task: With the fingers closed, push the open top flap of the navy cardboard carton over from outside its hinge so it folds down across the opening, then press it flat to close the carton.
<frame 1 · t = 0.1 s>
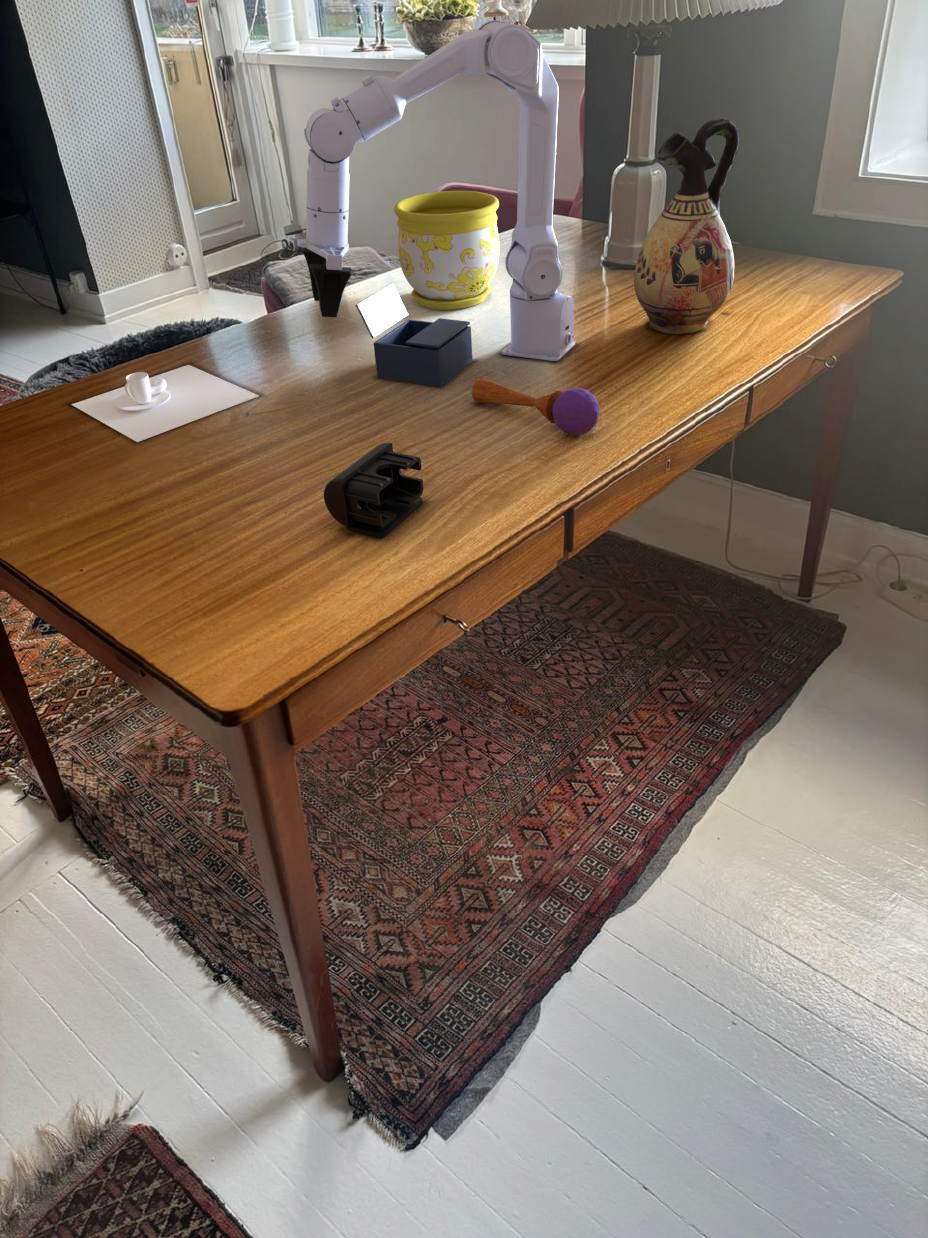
hand: (325, 308, 136), 11 cm above the table, tool pointing down, fingers open, 7 cm apart
flap: (382, 309, 141), point 8 cm above the table, hinge at 115.0°
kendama: (534, 420, 127), on the table
ceramic jug: (684, 325, 153), on the table
end cap: (378, 515, 108), on the table
carton: (425, 369, 143), on the table
flowerpot: (451, 299, 170), on the table
teacup and saucer: (165, 401, 139), on the table
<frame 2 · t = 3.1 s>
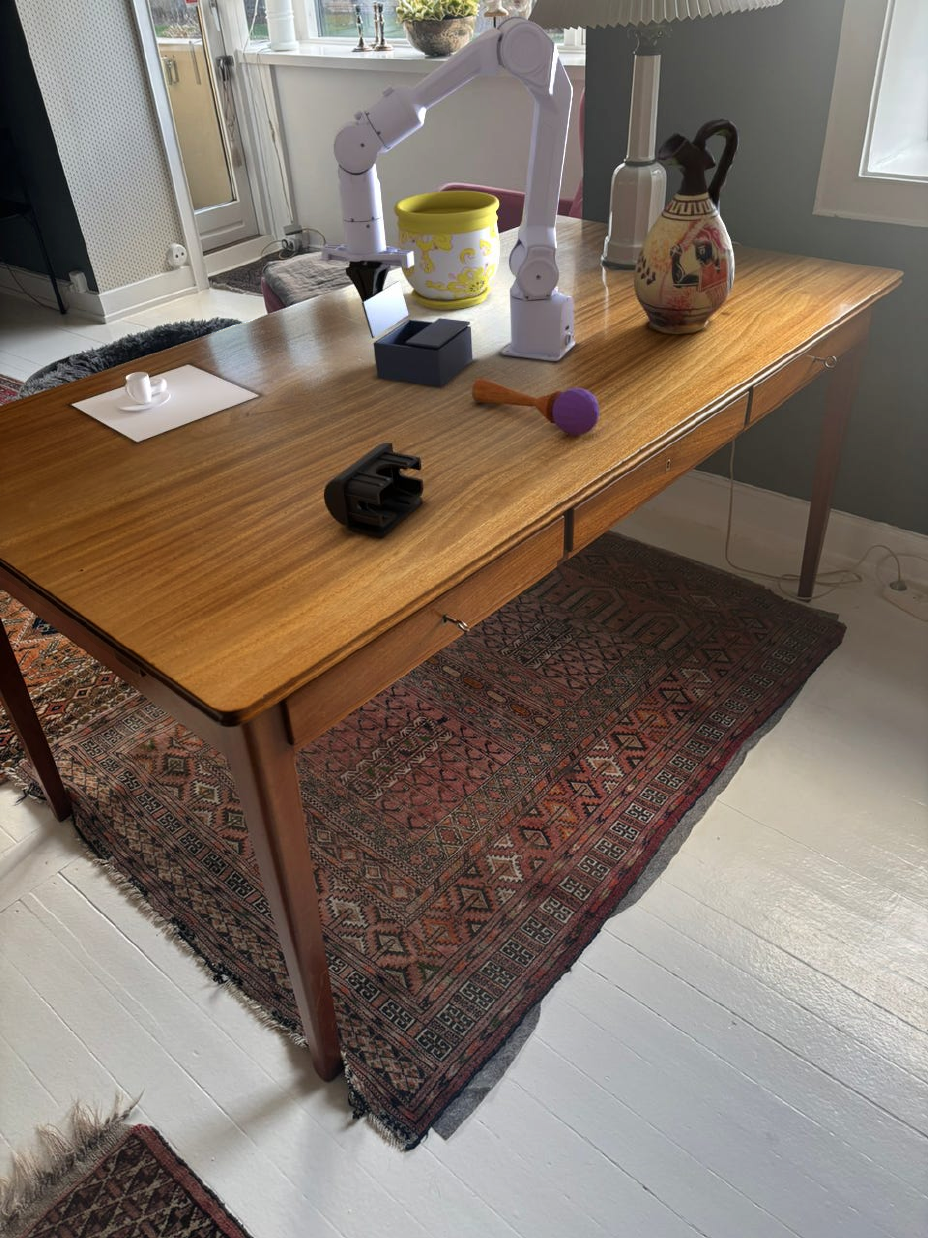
hand: (373, 312, 142), 8 cm above the table, tool pointing down, fingers closed
flap: (385, 309, 140), point 9 cm above the table, hinge at 102.2°, touching gripper
everything else where it was.
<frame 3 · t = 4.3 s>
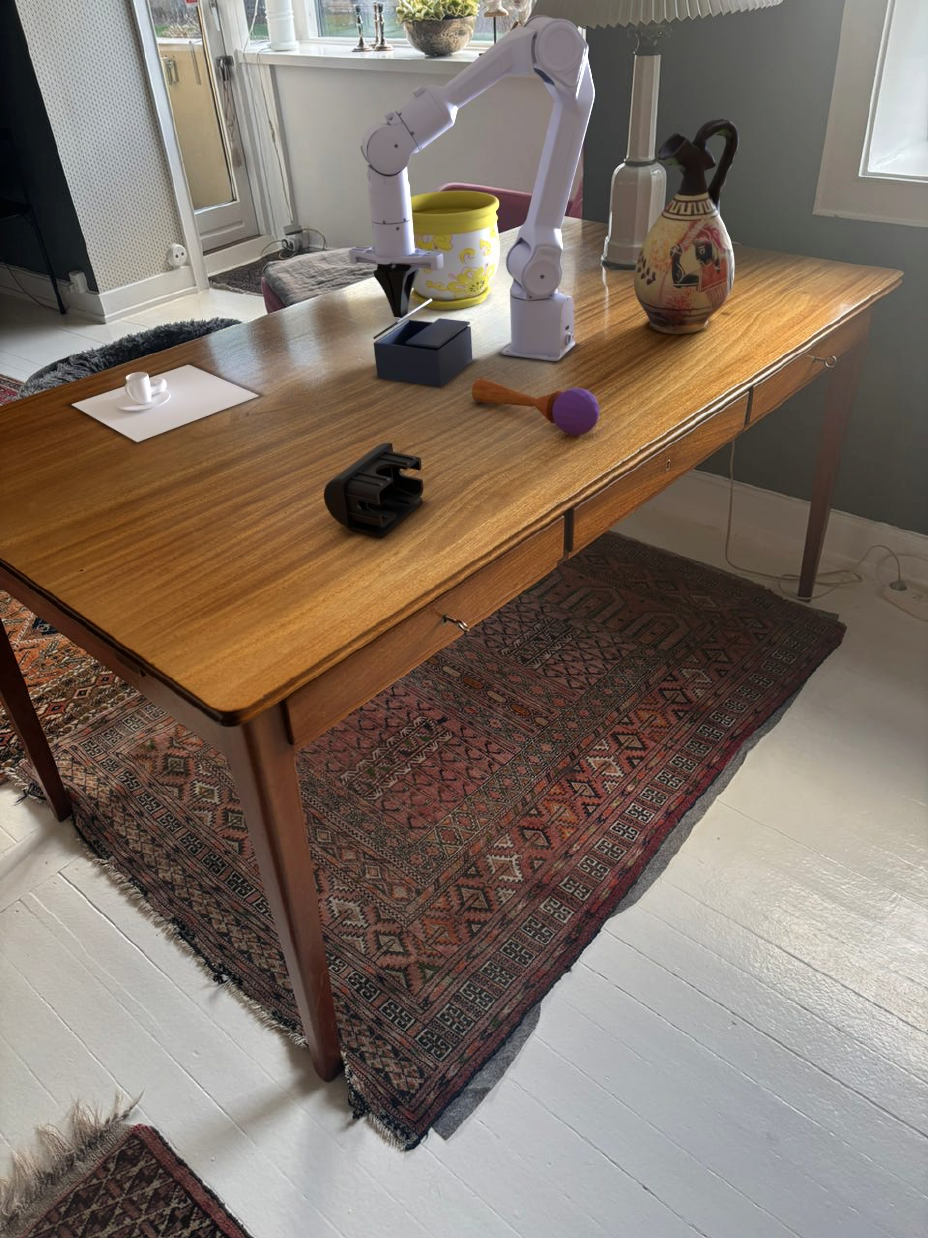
hand: (400, 315, 140), 8 cm above the table, tool pointing down, fingers closed
flap: (403, 318, 140), point 7 cm above the table, hinge at 33.5°
everything else where it was.
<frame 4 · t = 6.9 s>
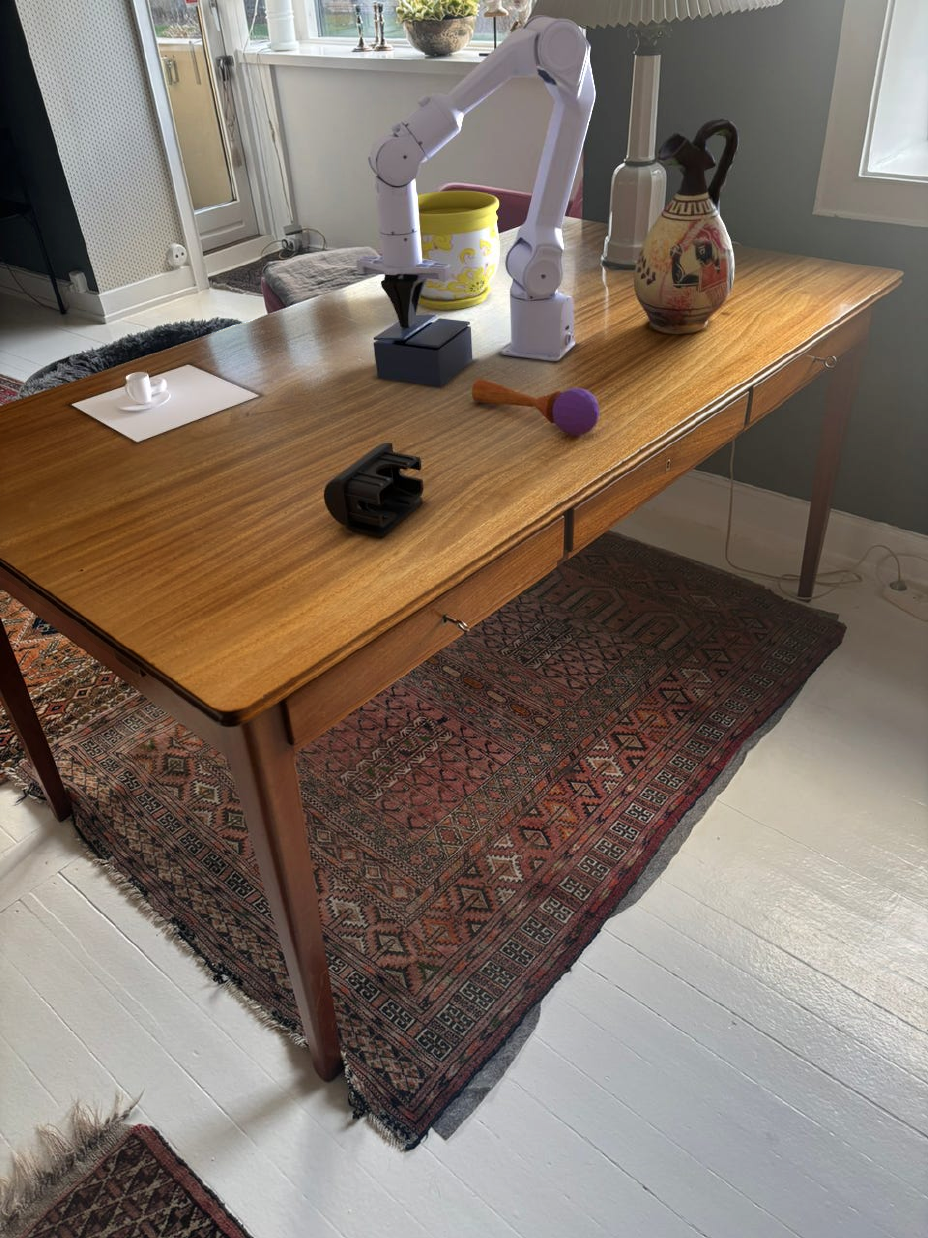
hand: (407, 325, 140), 7 cm above the table, tool pointing down, fingers closed, pressing on flap
flap: (406, 326, 140), point 6 cm above the table, hinge at 6.0°, touching gripper
everything else where it was.
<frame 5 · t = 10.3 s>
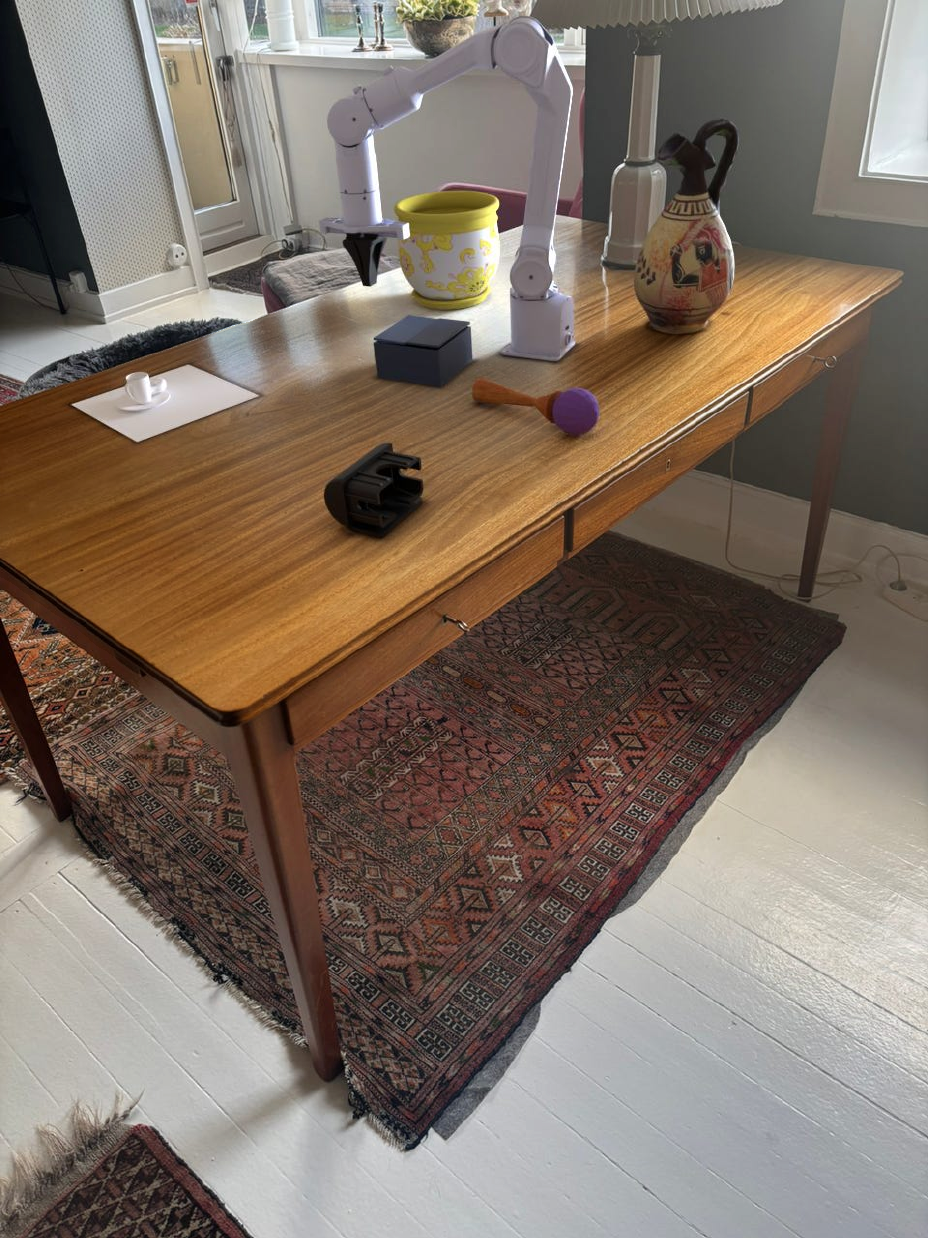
hand: (369, 284, 145), 10 cm above the table, tool pointing down, fingers closed
flap: (406, 329, 141), point 6 cm above the table, hinge at -1.7°
everything else where it was.
at the end: flap at -2° (first picture: +115°); the gripper is holding nothing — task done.
